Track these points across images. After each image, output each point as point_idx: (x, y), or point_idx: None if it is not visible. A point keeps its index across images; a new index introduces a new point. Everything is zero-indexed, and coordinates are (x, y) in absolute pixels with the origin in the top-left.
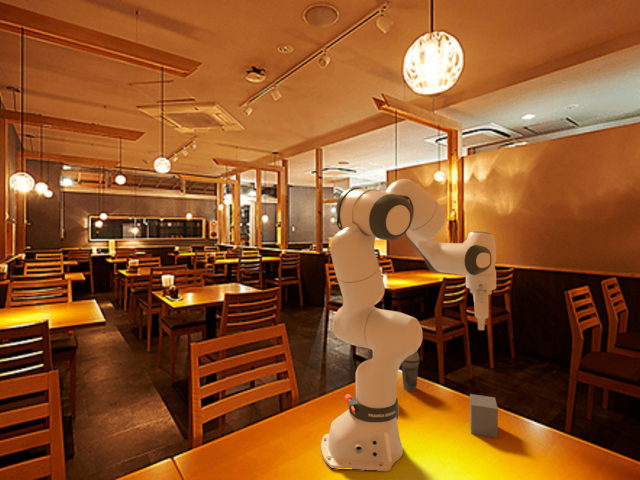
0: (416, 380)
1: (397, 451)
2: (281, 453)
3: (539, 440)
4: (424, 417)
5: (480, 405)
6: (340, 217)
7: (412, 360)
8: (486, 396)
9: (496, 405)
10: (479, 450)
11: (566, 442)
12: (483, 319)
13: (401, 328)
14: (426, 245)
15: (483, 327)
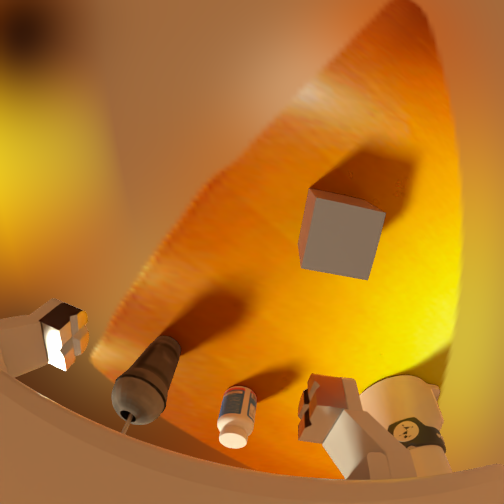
0: (164, 350)
1: (421, 387)
2: None
3: (358, 108)
4: (294, 337)
5: (369, 255)
6: None
7: (160, 399)
8: (312, 222)
9: (366, 209)
10: (406, 251)
11: (354, 55)
12: (404, 464)
13: None
14: None
15: (356, 396)
